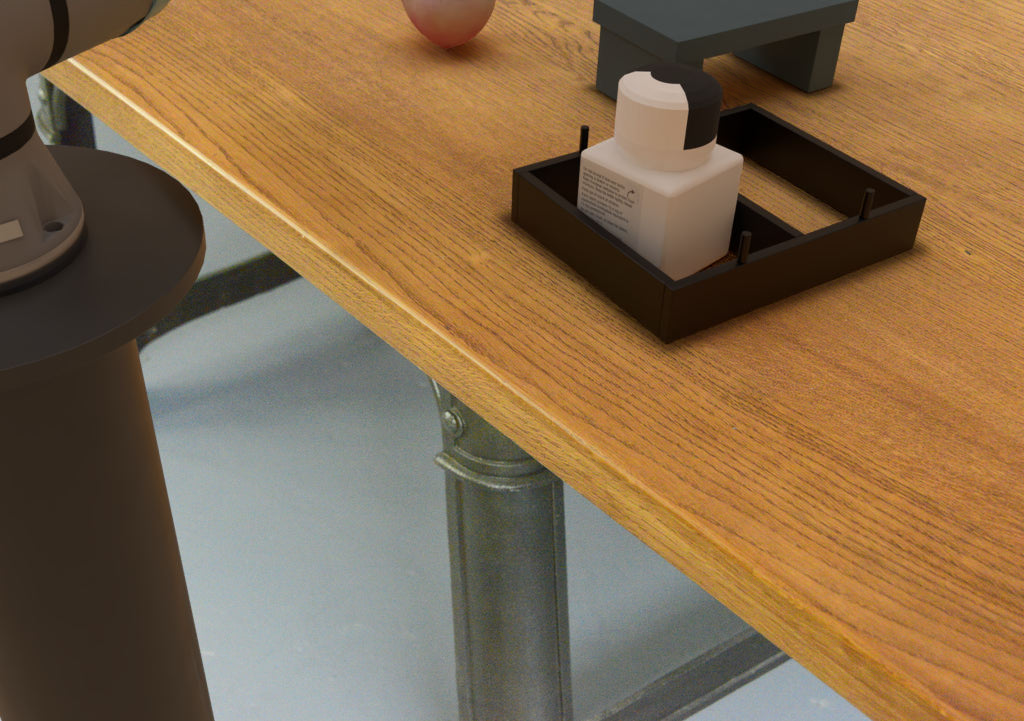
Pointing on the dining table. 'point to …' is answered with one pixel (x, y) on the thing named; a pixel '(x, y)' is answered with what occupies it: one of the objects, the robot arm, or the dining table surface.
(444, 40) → the decorative fruit
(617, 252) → the rack
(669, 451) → the dining table surface
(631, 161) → the container
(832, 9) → the stand
